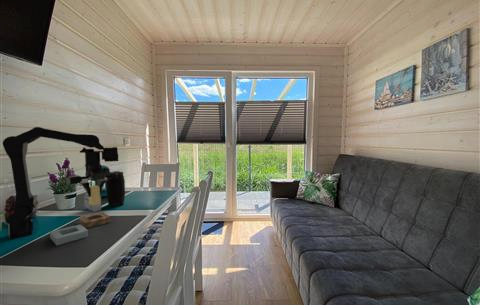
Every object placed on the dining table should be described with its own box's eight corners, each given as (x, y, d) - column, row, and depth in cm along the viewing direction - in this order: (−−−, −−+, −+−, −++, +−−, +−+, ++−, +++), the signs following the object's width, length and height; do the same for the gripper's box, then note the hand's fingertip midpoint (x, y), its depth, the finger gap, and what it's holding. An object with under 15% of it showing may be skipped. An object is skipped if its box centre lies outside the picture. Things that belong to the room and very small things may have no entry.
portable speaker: (128, 204, 133) (127, 171, 132) (111, 208, 125) (110, 173, 124) (120, 202, 138) (119, 170, 137) (104, 205, 130) (103, 172, 129)
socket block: (56, 245, 81) (56, 238, 81) (50, 237, 88) (49, 231, 87) (88, 236, 89) (88, 230, 89) (80, 229, 95) (80, 224, 95)
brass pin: (91, 205, 101) (90, 187, 100) (88, 203, 103) (88, 186, 103) (100, 203, 104) (99, 186, 103) (97, 202, 106) (96, 185, 105)
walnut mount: (86, 228, 97) (85, 222, 97) (78, 223, 103) (78, 217, 103) (110, 222, 104) (110, 216, 104) (102, 217, 111) (102, 212, 111)
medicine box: (84, 210, 122) (84, 194, 122) (93, 207, 126) (92, 192, 126) (93, 212, 119) (92, 196, 118) (101, 209, 123) (101, 194, 122)
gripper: (73, 165, 90) (75, 203, 91) (121, 161, 104) (122, 194, 105) (65, 163, 97) (67, 199, 98) (112, 160, 111) (113, 191, 112)
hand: (94, 196), depth 103 cm, fingers closed on brass pin, 3 cm apart
